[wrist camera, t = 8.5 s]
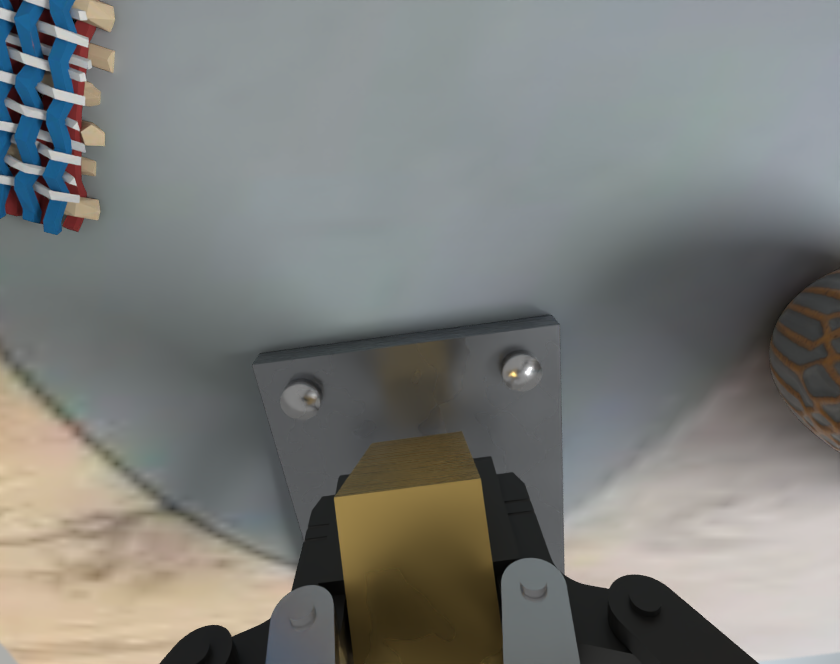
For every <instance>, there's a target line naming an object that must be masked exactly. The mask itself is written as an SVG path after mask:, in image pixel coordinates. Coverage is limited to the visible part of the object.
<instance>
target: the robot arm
mask: <svg viewBox="0 0 840 664" xmlns="http://www.w3.org/2000/svg"><path fill="white" fill-rule="evenodd" d="M473 460H474V463H475V465H476V468H477V470H478V473H479V475H480V478H481V484H482V491H483V498H484V505H485V512H486V519H487V527H488V534H489V541H490V548H491V555H492V562H493V570H494V577H495V584H496V591H497V598H498V605H499V613H500V620H501V627H502V634H503V661H504V664H759V663H757V662H756V661H755V660H754V659H753V658H752V657H750V656H749V655H748V654H747V653H746V652H744V651H743V650H742V649H741V648H740V647H738V646H737V645H736V644H735V643H734V642H733V641H731V640H730V639H729V638H728V637H727V636H725V635H724V634H723V633H722V632H721V631H719V630H718V629H717V628H716V627H715V626H714V625H712V624H711V623H710V622H709V621H708V620H706V619H705V618H704V617H703V616H702V615H701V614H699V613H698V612H697V611H696V610H695V609H693V608H692V607H691V606H690V605H689V604H687V603H686V602H685V601H684V600H683V599H682V598H680V597H679V596H678V595H677V594H676V593H674V592H673V591H672V590H671V589H670V588H668V587H667V586H666V585H664V584H663V583H661V582H659V581H658V580H655V579H653V578H651V577H647V576H643V575H626V576H623V577H620V578H618V579H617V580H616V581H614V582H613V584H612V585H611V586H610V589H607V588H601V587H595V586H589V585H585V584H581V583H578V582H576V581H574V580H572V579H570V578H568V577H567V576H565V575H564V574H563V573H562V572H560V571H559V569H558V568H557V567H556V566H555V564H554V563H553V561H552V559H551V556H550V554H549V551H548V548H547V545H546V542H545V539H544V537H543V534H542V531H541V528H540V525H539V522H538V520H537V517H536V514H535V512H534V508H533V506H532V503H531V501H530V497H529V494H528V491H527V489H526V486H525V483H524V482H523V481H521V480H520V479H519V478H518V477H517V476H516V475H515V474H514V473H513V472H509V473H502V474H496V471H495V467H494V464H493V460H492V457H491V456H487V457H480V458H473ZM349 475H350V474H347V475H340V476H339V478H338V483H337V488H336V493H335V495H336V494H337V492H338V491H339V489H340V488H341V487H342V485H343V484H344V482H345V481H346V479H347V478H348V477H349ZM335 495H329V496H322V497H321V499H320V500H319V501H318V503H317V504H316V506H315V507H314V508H313V510H312V511H311V515H310V519H309V523H308V529H307V531H306V535H305V542H304V543H303V547H302V551H301V555H300V559H299V563H298V567H297V571H296V575H295V579H294V583H293V587H292V590H291V592H290V593H288V594H287V595H286V596H285V597H283V598H282V599H281V600H280V602H279V603H278V604H277V606H276V607H275V609H274V611H273V613H272V616H271V618H270V619H269V620H267V621H266V622H264V623H262V624H260V625H258V626H256V627H254V628H251V629H249V630H247V631H244V632H242V633H240V634H237V635H235V636H233V637H231V634H230V633H229V631H228V630H227V629H226V628H224V627H222V626H219V625H209V626H205V627H201V628H199V629H196V630H194V631H193V632H191V633H189V634H188V635H186V636H185V637H184V638H183V639H181V640H180V641H179V642H178V643H177V644H176V645H175V646H174V647H173V648H172V650H171V651H170V652H169V653H168V654H167V655H166V657H165V658H164V659H163V660H162V661H161V662H160V664H354V659H353V651H352V642H351V634H350V626H349V618H348V609H347V601H346V593H345V585H344V577H343V568H342V560H341V552H340V544H339V536H338V527H337V519H336V511H335V503H334V497H335Z"/></svg>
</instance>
